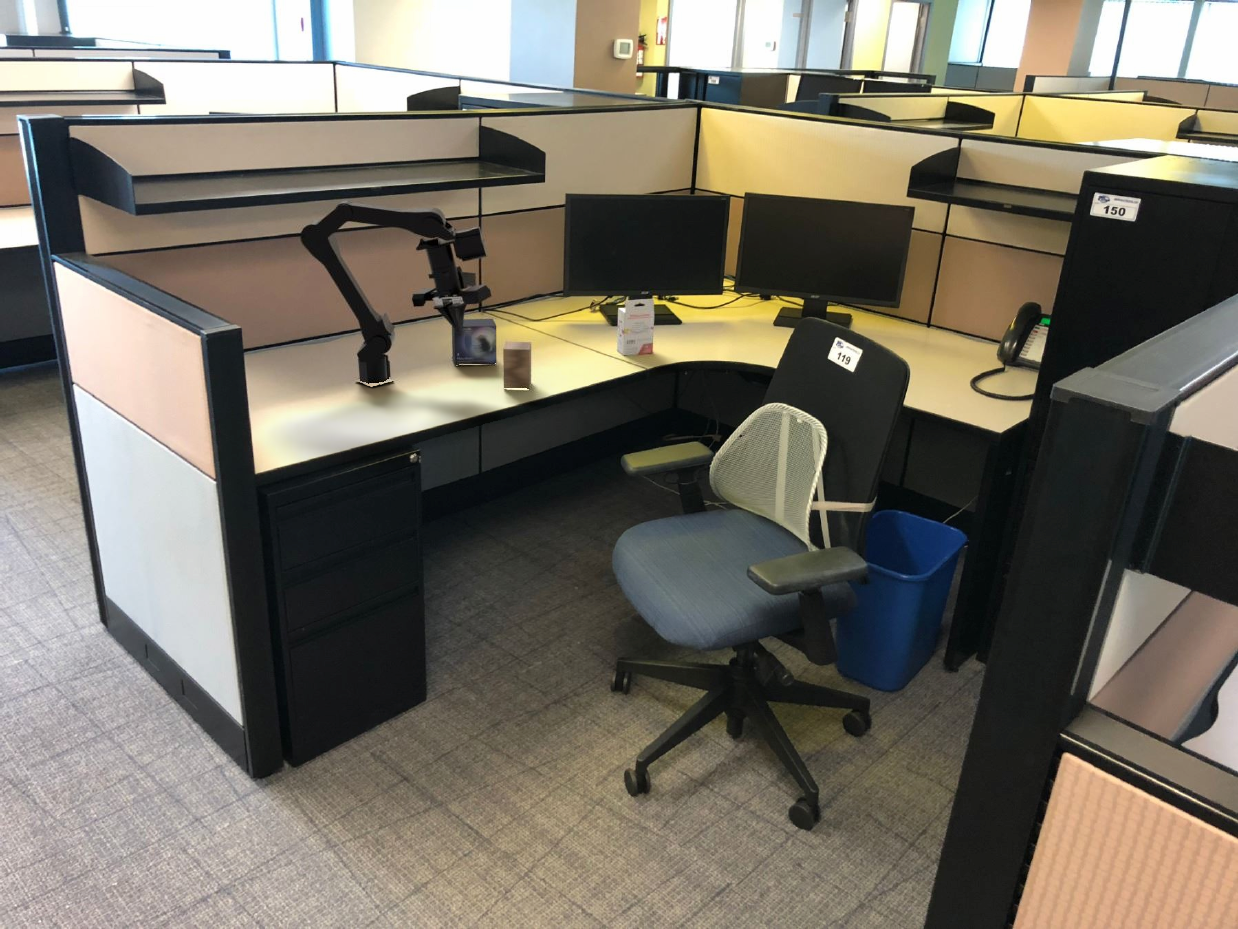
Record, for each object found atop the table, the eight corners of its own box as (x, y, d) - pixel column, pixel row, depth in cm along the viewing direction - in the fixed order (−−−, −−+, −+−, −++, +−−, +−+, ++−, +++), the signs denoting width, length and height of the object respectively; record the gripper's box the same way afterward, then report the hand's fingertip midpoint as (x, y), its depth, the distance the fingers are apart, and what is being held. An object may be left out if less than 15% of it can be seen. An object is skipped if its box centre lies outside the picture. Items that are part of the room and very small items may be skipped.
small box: (454, 367, 238) (453, 326, 233) (451, 359, 243) (450, 319, 239) (497, 365, 240) (496, 324, 236) (493, 357, 246) (492, 317, 242)
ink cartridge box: (645, 348, 259) (648, 294, 253) (653, 353, 254) (655, 298, 248) (616, 350, 256) (618, 296, 250) (623, 356, 251) (625, 300, 245)
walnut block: (503, 390, 224) (503, 348, 220) (505, 382, 229) (505, 341, 225) (529, 391, 224) (529, 349, 220) (531, 382, 229) (531, 342, 225)
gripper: (496, 253, 218) (511, 319, 224) (431, 258, 226) (448, 321, 233) (468, 267, 209) (485, 335, 215) (402, 271, 218) (420, 337, 224)
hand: (460, 331), depth 222 cm, fingers closed
